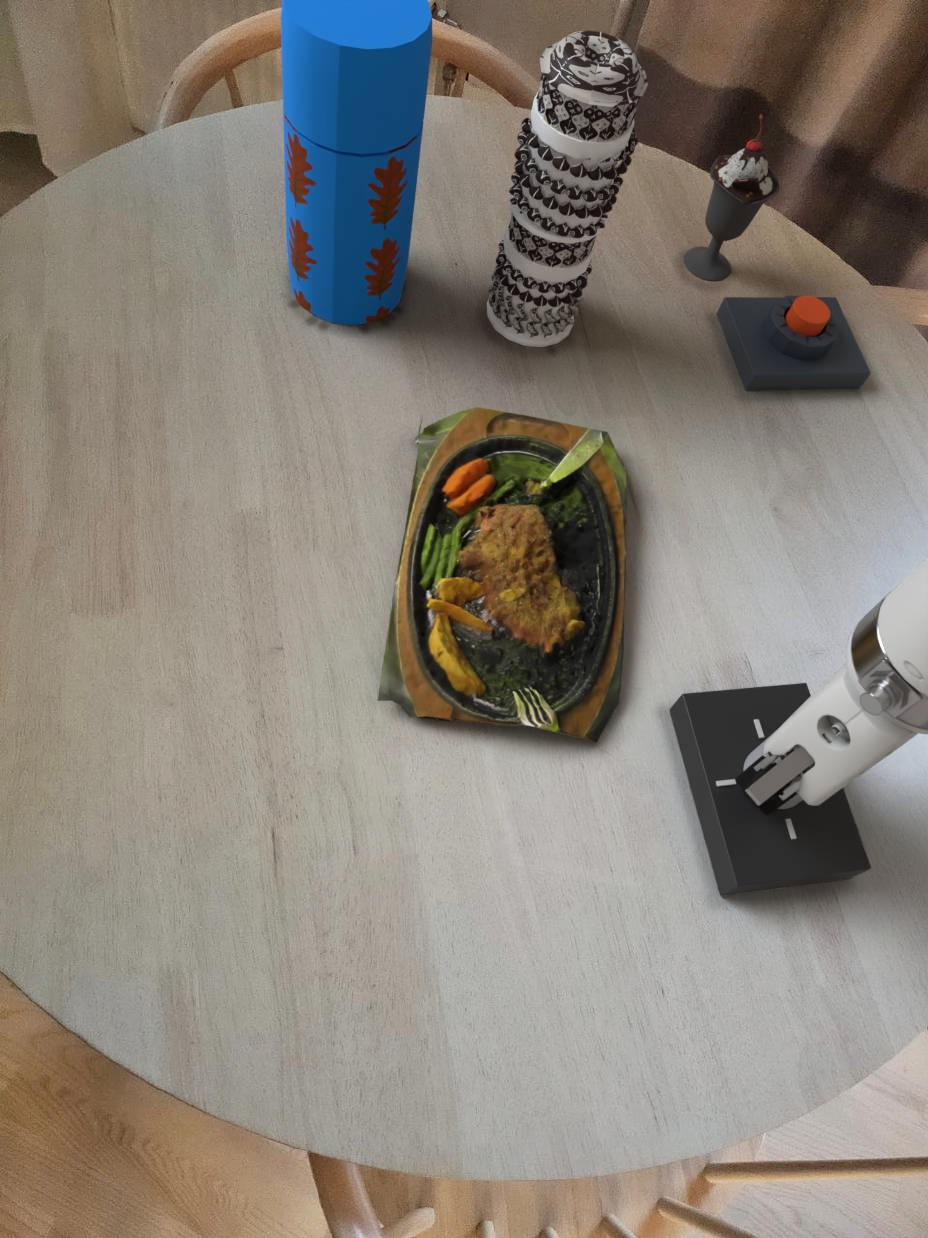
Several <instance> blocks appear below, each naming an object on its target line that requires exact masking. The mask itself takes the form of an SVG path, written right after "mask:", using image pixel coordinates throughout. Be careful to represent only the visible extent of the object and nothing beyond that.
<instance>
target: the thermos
mask: <svg viewBox="0 0 928 1238" xmlns="http://www.w3.org/2000/svg"><path fill="white" fill-rule="evenodd" d="M280 37H281V38H280V44H281V78H282V79H281V80H282V115H283V117H282V118H283V119H282V120H283V152H284V153H283V155H284V194H285V195H284V197H285V227H286V228H285V230H286V231H285V233H286V250H287V260H288V271H289V282H290V291H291V293H292V295H293V297H294V298H295V299H296V301H297V302H298V304H299V306H300V307H302V308H303V309H305V310H306V311H307V312H309V313H310V314H311V315H312V316H314V317H316V318H319V319H321V320H324V321H327V322H329V323H331V324H339V325H340V324H341V325H347V326H348V325H349V326H356V325H363V324H370V323H374V322H376V321H377V320H380V319H382V318H384V317H386V316H388V315H389V314H391V312H392V311H393V310H394V309H395V308H396V307H397V306H398V305H399V303H400V300H401V297H402V294H403V290H404V285H405V280H406V274H407V269H408V264H409V258H410V249H411V248H410V247H411V240H412V239H411V238H412V229H413V221H414V212H415V202H416V194H417V193H416V192H417V183H418V176H419V175H418V174H419V166H420V157H421V147H422V139H423V131H424V130H423V129H424V119H425V111H426V103H427V94H428V85H429V84H428V83H429V77H430V76H429V75H430V66H431V57H432V49H433V15H432V10H431V6H430V2H429V0H281V11H280Z"/></svg>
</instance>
